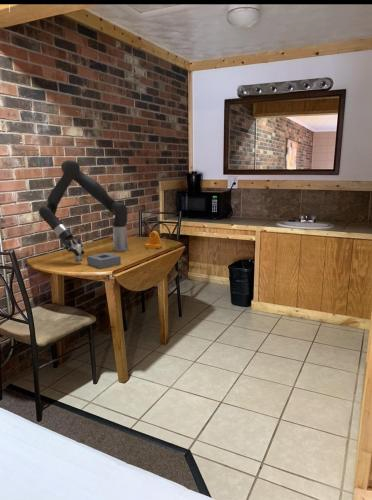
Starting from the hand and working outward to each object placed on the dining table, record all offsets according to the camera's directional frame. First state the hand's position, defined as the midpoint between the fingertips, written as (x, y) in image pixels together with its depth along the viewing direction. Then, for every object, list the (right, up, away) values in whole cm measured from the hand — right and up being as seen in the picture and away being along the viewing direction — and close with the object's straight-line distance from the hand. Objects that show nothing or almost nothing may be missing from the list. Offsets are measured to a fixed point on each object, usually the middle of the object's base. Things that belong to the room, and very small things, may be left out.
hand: (80, 254), depth 217 cm
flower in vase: (+8, +11, +80) cm, 81 cm away
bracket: (+39, +4, +47) cm, 62 cm away
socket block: (+14, -6, +1) cm, 15 cm away
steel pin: (-2, -4, +2) cm, 5 cm away
